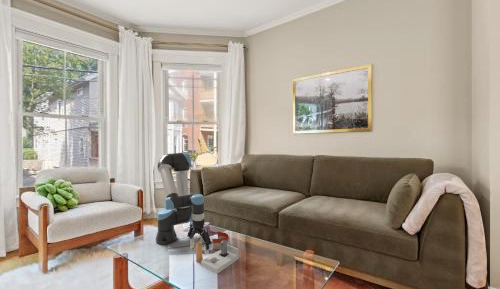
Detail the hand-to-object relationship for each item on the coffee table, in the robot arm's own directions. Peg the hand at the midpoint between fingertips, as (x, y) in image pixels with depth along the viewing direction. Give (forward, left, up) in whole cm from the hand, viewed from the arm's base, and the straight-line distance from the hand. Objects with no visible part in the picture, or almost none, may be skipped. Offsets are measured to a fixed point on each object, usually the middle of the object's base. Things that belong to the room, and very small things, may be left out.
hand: (199, 250), depth 170 cm
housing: (+12, +7, -7) cm, 15 cm away
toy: (-1, +22, -7) cm, 23 cm away
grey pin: (+11, +12, -7) cm, 17 cm away
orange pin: (0, 0, -7) cm, 7 cm away
